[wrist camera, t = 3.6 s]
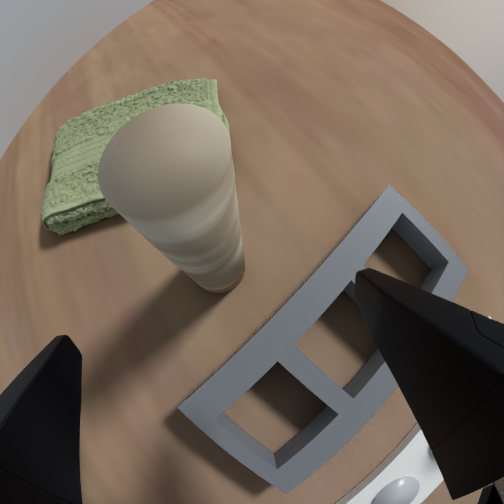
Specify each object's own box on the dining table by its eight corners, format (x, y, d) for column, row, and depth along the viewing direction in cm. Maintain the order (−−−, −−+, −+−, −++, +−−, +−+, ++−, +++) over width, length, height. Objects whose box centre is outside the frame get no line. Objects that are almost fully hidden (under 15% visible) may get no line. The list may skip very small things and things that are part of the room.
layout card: (381, 529, 12) (415, 573, 4) (331, 506, 14) (361, 564, 6) (511, 361, 16) (567, 358, 8) (482, 317, 17) (547, 304, 10)
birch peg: (218, 304, 18) (145, 249, 6) (182, 267, 19) (79, 163, 6) (256, 266, 19) (261, 146, 6) (219, 231, 20) (174, 88, 7)
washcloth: (244, 192, 21) (243, 169, 18) (52, 244, 20) (31, 232, 17) (217, 87, 24) (213, 63, 21) (65, 136, 23) (52, 119, 20)
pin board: (282, 476, 15) (286, 493, 12) (186, 398, 16) (177, 407, 14) (450, 276, 19) (468, 269, 16) (376, 199, 20) (388, 184, 18)
